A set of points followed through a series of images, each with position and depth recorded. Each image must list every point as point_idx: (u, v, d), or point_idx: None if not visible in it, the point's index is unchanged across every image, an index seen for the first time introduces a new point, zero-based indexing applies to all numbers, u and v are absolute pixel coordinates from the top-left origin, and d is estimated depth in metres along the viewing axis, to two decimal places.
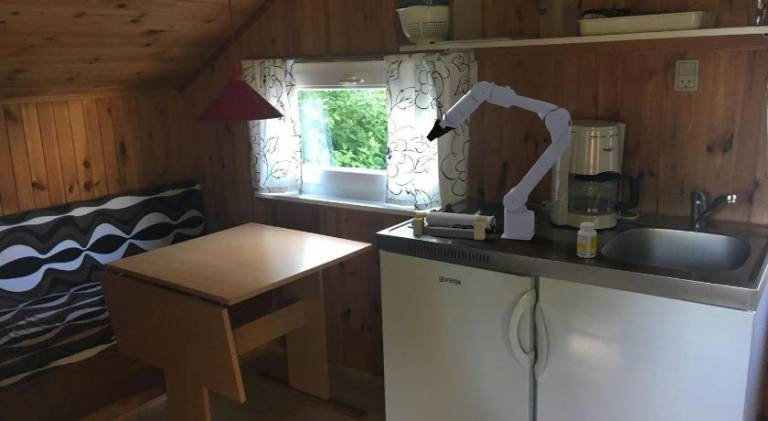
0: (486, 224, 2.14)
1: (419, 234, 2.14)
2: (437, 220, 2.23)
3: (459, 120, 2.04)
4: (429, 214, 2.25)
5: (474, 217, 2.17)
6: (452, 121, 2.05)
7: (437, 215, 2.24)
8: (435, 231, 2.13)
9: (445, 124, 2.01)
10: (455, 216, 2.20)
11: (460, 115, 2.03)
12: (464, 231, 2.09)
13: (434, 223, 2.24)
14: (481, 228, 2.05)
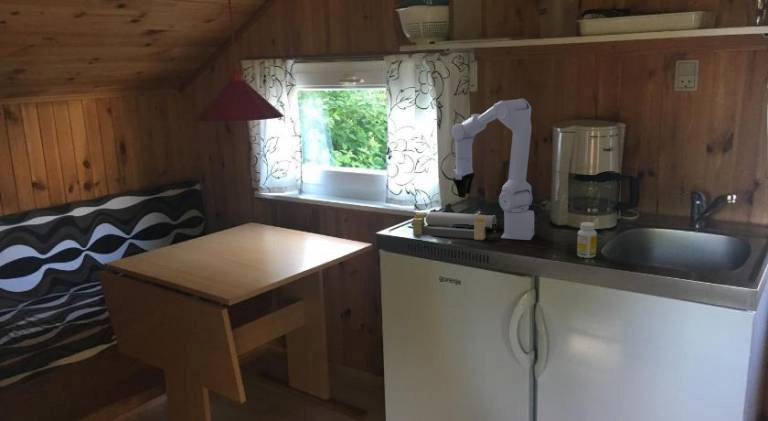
0: (488, 223, 2.15)
1: (419, 234, 2.14)
2: (437, 220, 2.23)
3: (468, 165, 2.21)
4: (429, 214, 2.25)
5: (475, 216, 2.18)
6: (464, 170, 2.22)
7: (437, 215, 2.23)
8: (435, 231, 2.13)
9: (459, 175, 2.18)
10: (455, 216, 2.21)
11: (465, 160, 2.21)
12: (464, 231, 2.09)
13: (434, 223, 2.24)
14: (481, 228, 2.05)
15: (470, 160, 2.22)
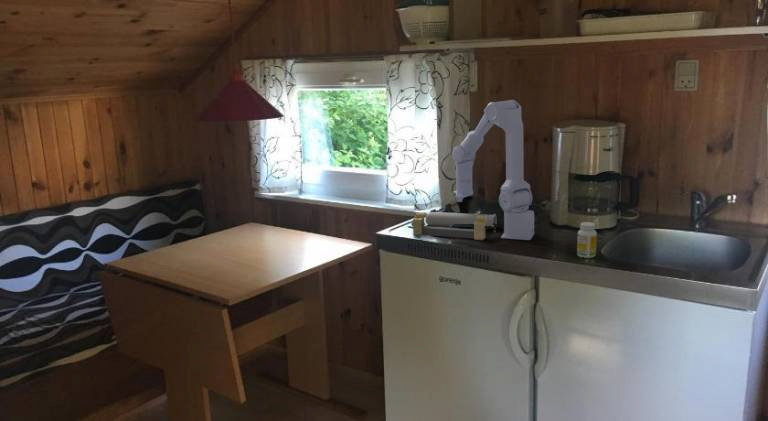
0: (489, 222, 2.16)
1: (419, 234, 2.14)
2: (438, 220, 2.23)
3: (468, 187, 2.23)
4: (429, 215, 2.25)
5: (476, 216, 2.18)
6: (464, 192, 2.24)
7: (437, 215, 2.23)
8: (435, 231, 2.13)
9: (460, 197, 2.20)
10: (456, 216, 2.21)
11: (465, 183, 2.23)
12: (464, 231, 2.09)
13: (435, 223, 2.24)
14: (481, 228, 2.05)
15: (470, 182, 2.24)
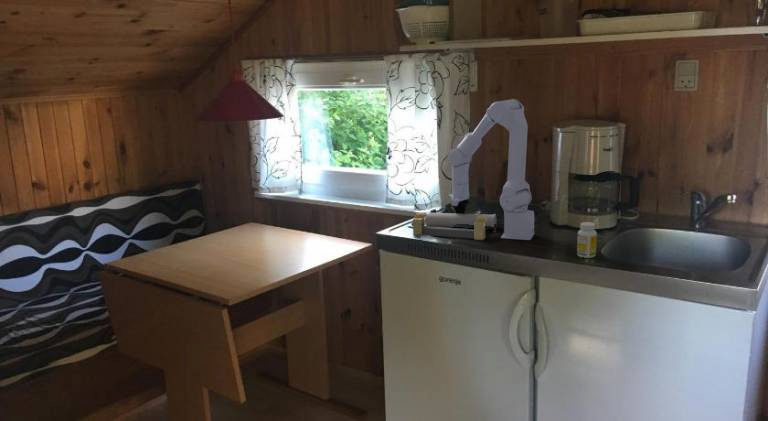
0: (489, 223, 2.16)
1: (419, 234, 2.14)
2: (437, 221, 2.22)
3: (464, 190, 2.19)
4: (428, 216, 2.23)
5: (476, 216, 2.18)
6: (460, 195, 2.19)
7: (437, 216, 2.22)
8: (435, 231, 2.13)
9: (456, 201, 2.15)
10: (455, 217, 2.20)
11: (461, 186, 2.18)
12: (464, 231, 2.09)
13: (434, 224, 2.23)
14: (481, 228, 2.05)
15: (466, 186, 2.19)
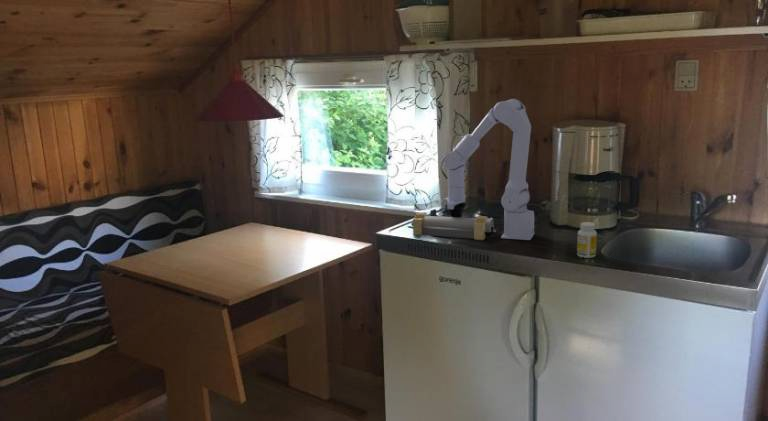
0: (486, 227, 2.11)
1: (419, 234, 2.14)
2: (433, 225, 2.17)
3: (460, 193, 2.15)
4: (424, 219, 2.19)
5: (472, 220, 2.13)
6: (456, 199, 2.15)
7: (433, 220, 2.18)
8: (435, 231, 2.13)
9: (451, 205, 2.11)
10: (452, 220, 2.15)
11: (457, 189, 2.14)
12: (464, 231, 2.09)
13: None
14: (481, 228, 2.05)
15: (462, 189, 2.15)
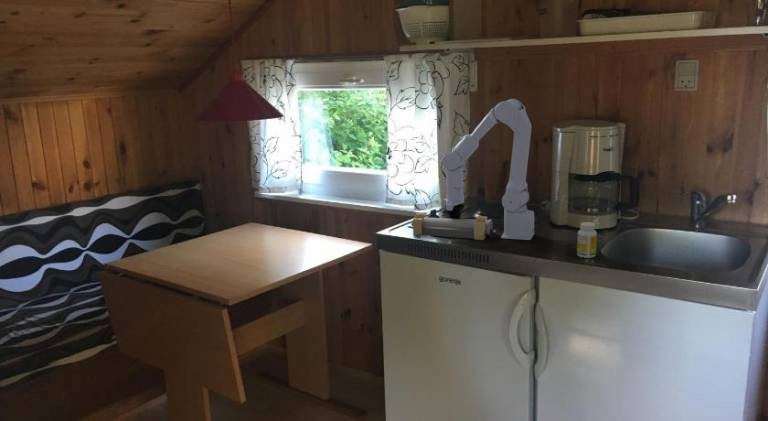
0: (485, 228, 2.10)
1: (419, 234, 2.14)
2: (432, 226, 2.16)
3: (459, 194, 2.13)
4: None
5: (471, 221, 2.12)
6: (455, 200, 2.13)
7: (431, 221, 2.16)
8: (435, 231, 2.13)
9: (450, 206, 2.10)
10: (450, 221, 2.14)
11: (456, 190, 2.13)
12: (464, 231, 2.09)
13: None
14: (481, 228, 2.05)
15: (461, 190, 2.13)
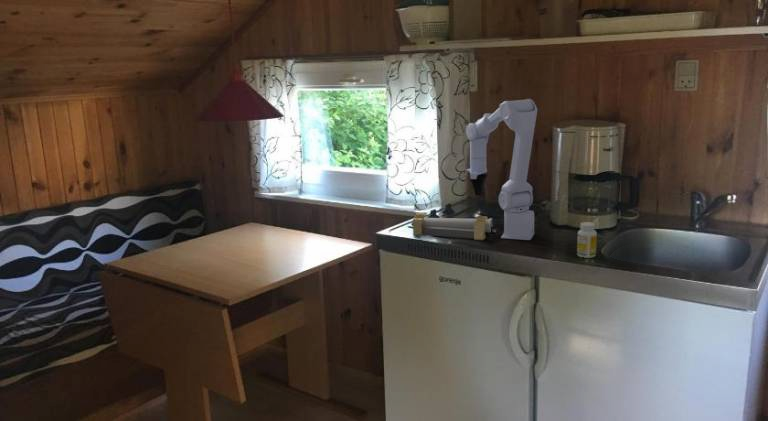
0: (486, 227, 2.11)
1: (419, 234, 2.14)
2: (432, 226, 2.16)
3: (482, 164, 2.21)
4: None
5: (472, 221, 2.13)
6: (478, 169, 2.21)
7: (432, 221, 2.16)
8: (435, 231, 2.13)
9: (474, 174, 2.18)
10: (451, 221, 2.14)
11: (479, 160, 2.20)
12: (464, 231, 2.09)
13: None
14: (481, 228, 2.05)
15: (484, 159, 2.21)
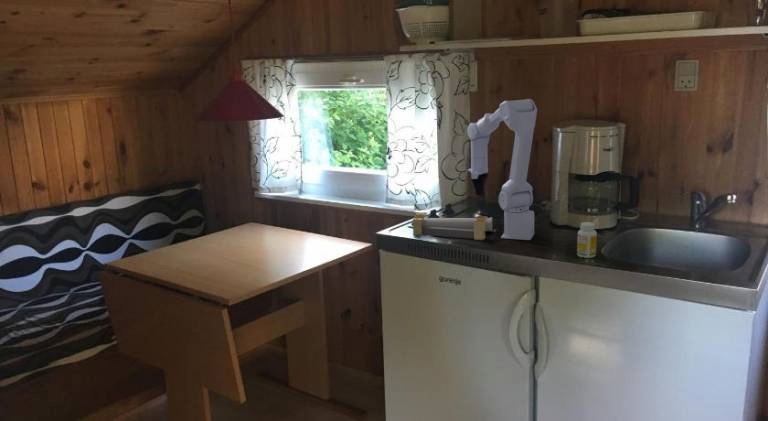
0: (487, 226, 2.12)
1: (419, 234, 2.14)
2: (433, 226, 2.16)
3: (484, 164, 2.21)
4: None
5: (473, 220, 2.14)
6: (480, 169, 2.21)
7: (432, 221, 2.16)
8: (435, 231, 2.13)
9: (475, 174, 2.18)
10: (452, 221, 2.15)
11: (480, 160, 2.21)
12: (464, 231, 2.09)
13: None
14: (481, 228, 2.05)
15: (486, 159, 2.22)
